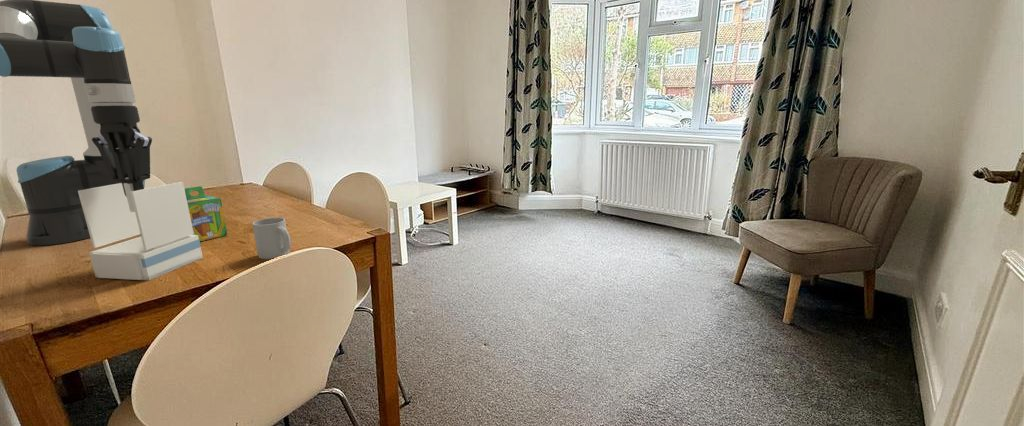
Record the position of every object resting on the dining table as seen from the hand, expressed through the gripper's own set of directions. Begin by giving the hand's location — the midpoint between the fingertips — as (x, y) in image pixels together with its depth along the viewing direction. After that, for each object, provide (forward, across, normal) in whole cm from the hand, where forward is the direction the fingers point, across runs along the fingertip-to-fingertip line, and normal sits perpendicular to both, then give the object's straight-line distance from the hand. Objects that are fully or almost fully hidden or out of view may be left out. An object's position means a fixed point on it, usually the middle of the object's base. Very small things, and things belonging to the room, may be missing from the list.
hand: (138, 210), depth 98 cm
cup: (+14, +25, +11) cm, 31 cm away
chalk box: (+14, -8, +23) cm, 28 cm away
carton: (+14, 0, 0) cm, 14 cm away
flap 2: (+7, +6, 0) cm, 10 cm away
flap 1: (+7, -7, 0) cm, 10 cm away
